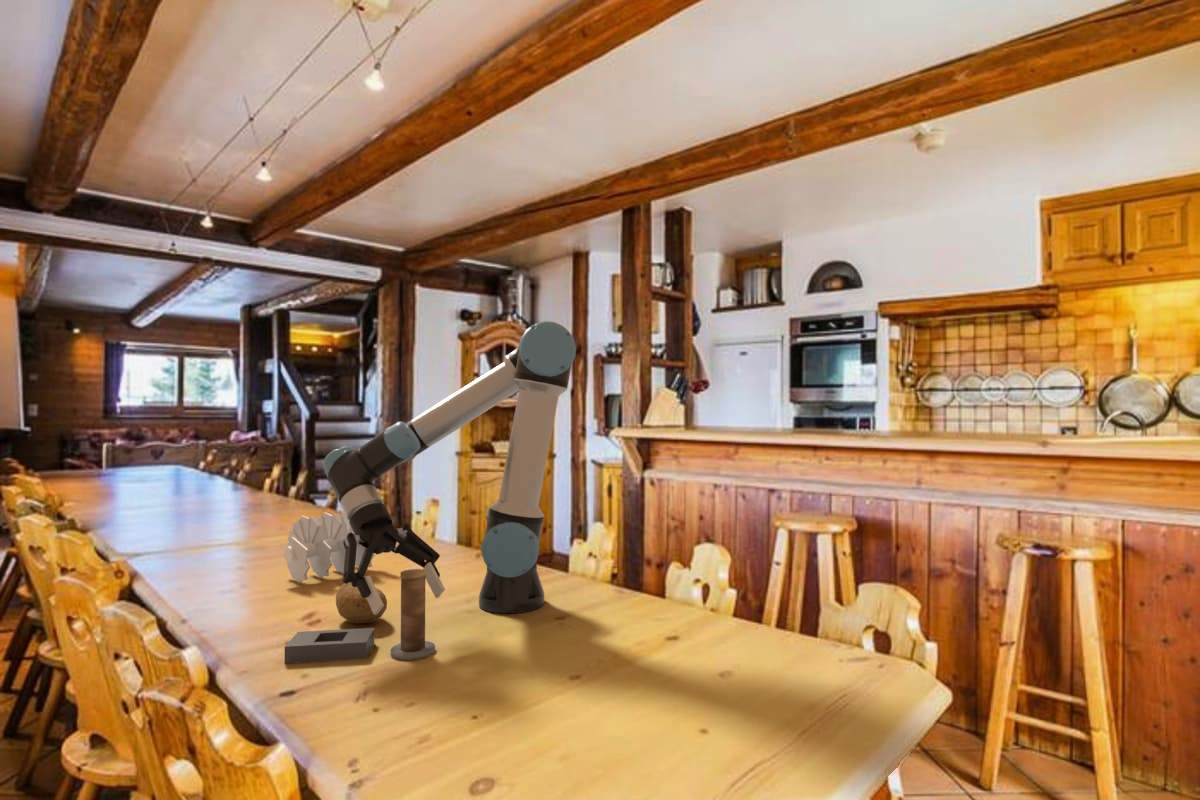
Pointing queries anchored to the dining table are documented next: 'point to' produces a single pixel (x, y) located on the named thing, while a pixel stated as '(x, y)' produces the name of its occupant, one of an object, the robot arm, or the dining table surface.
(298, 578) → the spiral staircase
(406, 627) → the plug
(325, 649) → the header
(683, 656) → the dining table surface
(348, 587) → the potato
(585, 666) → the dining table surface
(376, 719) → the dining table surface
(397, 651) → the coaster
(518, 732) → the dining table surface
